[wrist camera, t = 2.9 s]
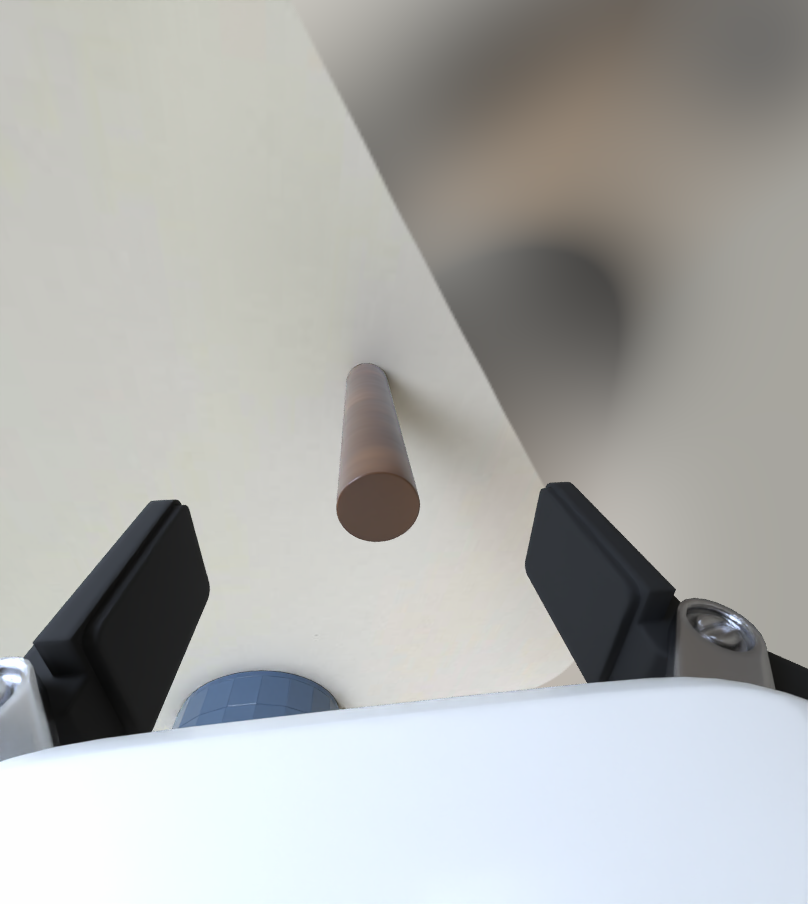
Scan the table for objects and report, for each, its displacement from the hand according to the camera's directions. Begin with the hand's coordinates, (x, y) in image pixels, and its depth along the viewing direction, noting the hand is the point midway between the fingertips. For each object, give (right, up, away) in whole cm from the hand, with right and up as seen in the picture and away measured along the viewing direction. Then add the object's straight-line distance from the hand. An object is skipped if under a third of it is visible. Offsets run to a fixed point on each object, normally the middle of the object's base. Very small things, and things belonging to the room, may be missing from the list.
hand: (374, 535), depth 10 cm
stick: (-1, +7, +14) cm, 16 cm away
